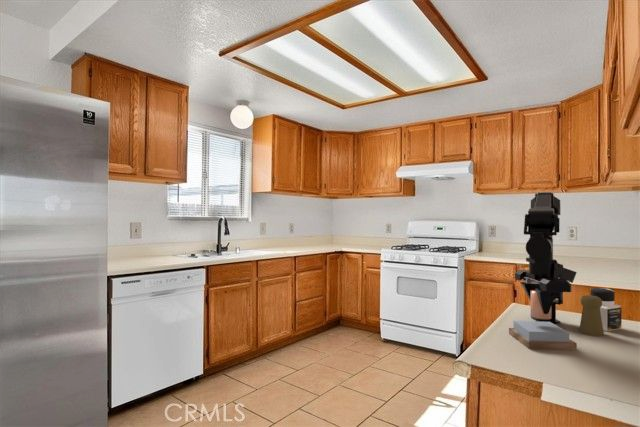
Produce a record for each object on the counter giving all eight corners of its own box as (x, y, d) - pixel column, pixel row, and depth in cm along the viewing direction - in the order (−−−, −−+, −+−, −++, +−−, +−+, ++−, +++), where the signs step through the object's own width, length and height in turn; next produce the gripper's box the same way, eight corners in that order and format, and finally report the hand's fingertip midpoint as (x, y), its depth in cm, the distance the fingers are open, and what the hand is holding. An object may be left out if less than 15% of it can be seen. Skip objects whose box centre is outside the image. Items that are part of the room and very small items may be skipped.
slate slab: (513, 329, 108) (513, 320, 108) (549, 330, 107) (549, 321, 107) (528, 340, 98) (528, 331, 98) (569, 342, 97) (569, 332, 97)
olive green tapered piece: (608, 336, 107) (608, 298, 107) (585, 335, 108) (585, 297, 108) (597, 330, 113) (597, 294, 113) (575, 329, 114) (575, 293, 114)
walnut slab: (509, 336, 110) (508, 327, 110) (551, 337, 109) (551, 328, 109) (528, 351, 98) (528, 341, 98) (576, 352, 97) (576, 342, 97)
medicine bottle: (608, 331, 111) (608, 292, 111) (583, 325, 118) (583, 287, 118) (622, 328, 114) (622, 290, 114) (596, 322, 121) (596, 285, 121)
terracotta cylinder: (527, 314, 106) (527, 289, 106) (545, 314, 105) (545, 289, 105) (536, 319, 101) (536, 293, 101) (555, 319, 100) (555, 293, 100)
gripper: (593, 259, 93) (593, 321, 93) (552, 251, 112) (552, 303, 112) (547, 259, 94) (547, 320, 94) (514, 251, 113) (514, 302, 113)
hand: (540, 311), depth 103 cm, fingers closed on terracotta cylinder, 5 cm apart
